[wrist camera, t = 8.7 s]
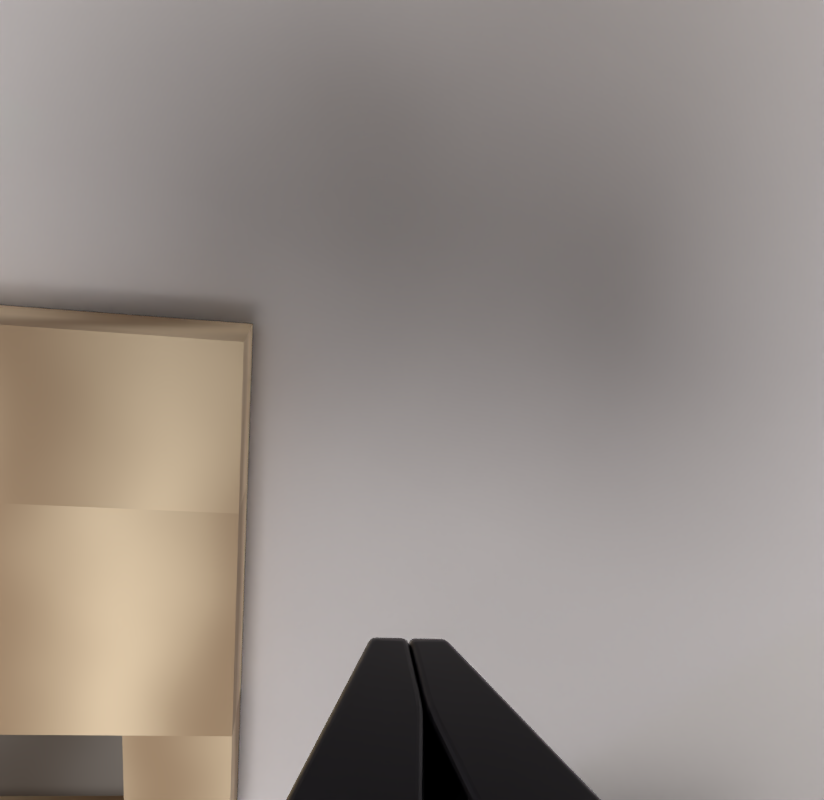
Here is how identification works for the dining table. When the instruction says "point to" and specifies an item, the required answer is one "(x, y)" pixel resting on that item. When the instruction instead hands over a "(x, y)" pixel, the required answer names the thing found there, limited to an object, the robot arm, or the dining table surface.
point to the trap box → (121, 554)
